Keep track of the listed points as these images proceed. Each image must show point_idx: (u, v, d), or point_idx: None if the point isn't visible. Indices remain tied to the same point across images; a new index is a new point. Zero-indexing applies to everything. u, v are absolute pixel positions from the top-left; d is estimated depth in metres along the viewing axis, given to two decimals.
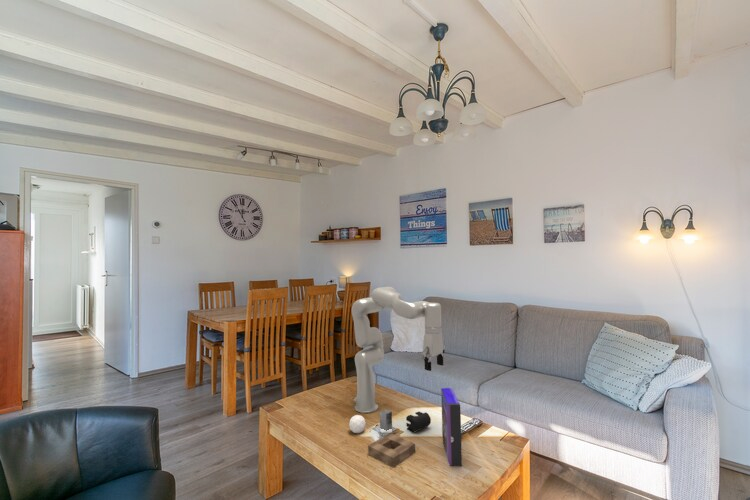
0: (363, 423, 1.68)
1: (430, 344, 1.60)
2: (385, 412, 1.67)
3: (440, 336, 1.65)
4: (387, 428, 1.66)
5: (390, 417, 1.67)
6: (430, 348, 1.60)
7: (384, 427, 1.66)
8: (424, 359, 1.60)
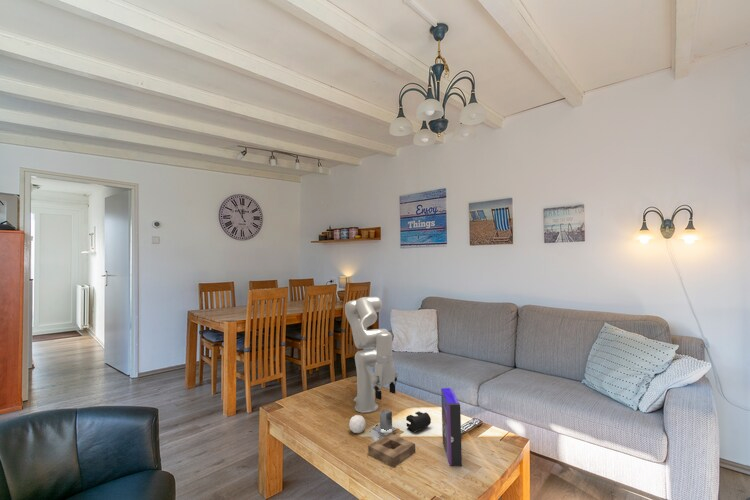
0: (363, 423, 1.68)
1: (380, 373, 1.64)
2: (385, 412, 1.67)
3: (391, 365, 1.68)
4: (387, 428, 1.66)
5: (390, 417, 1.67)
6: (380, 377, 1.63)
7: (384, 427, 1.66)
8: (374, 388, 1.63)
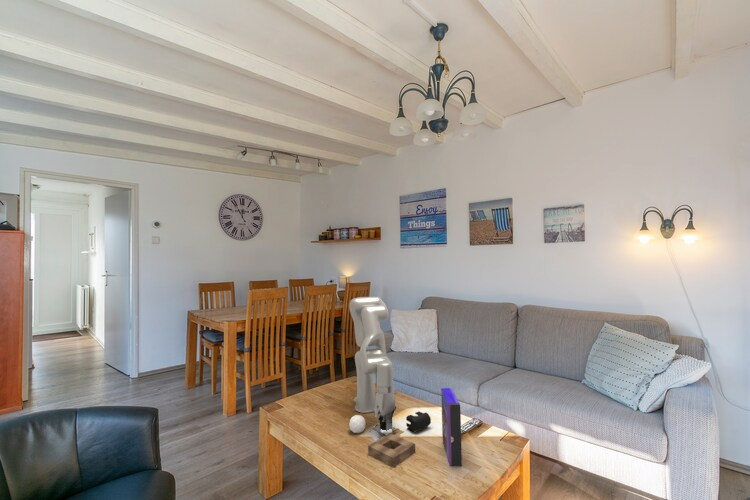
0: (363, 423, 1.68)
1: (381, 403, 1.64)
2: None
3: (392, 394, 1.68)
4: (387, 428, 1.66)
5: (390, 417, 1.67)
6: (381, 407, 1.64)
7: None
8: (378, 419, 1.65)
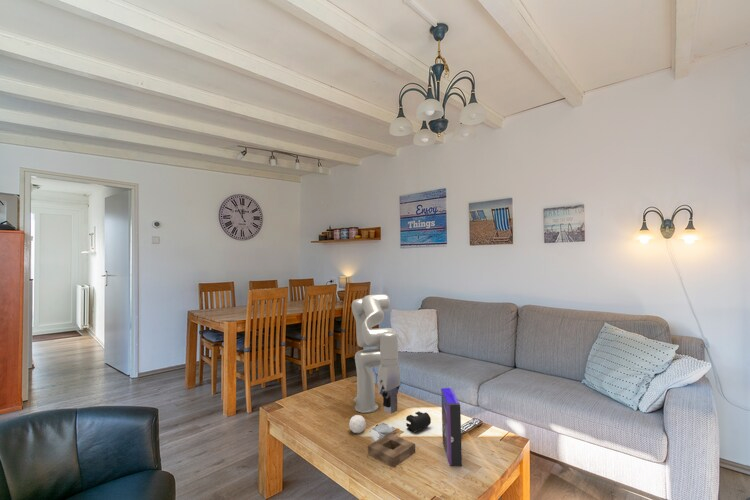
0: (363, 423, 1.68)
1: (385, 377, 1.48)
2: None
3: (397, 368, 1.53)
4: (392, 405, 1.50)
5: (395, 393, 1.52)
6: (384, 382, 1.48)
7: None
8: (382, 395, 1.50)
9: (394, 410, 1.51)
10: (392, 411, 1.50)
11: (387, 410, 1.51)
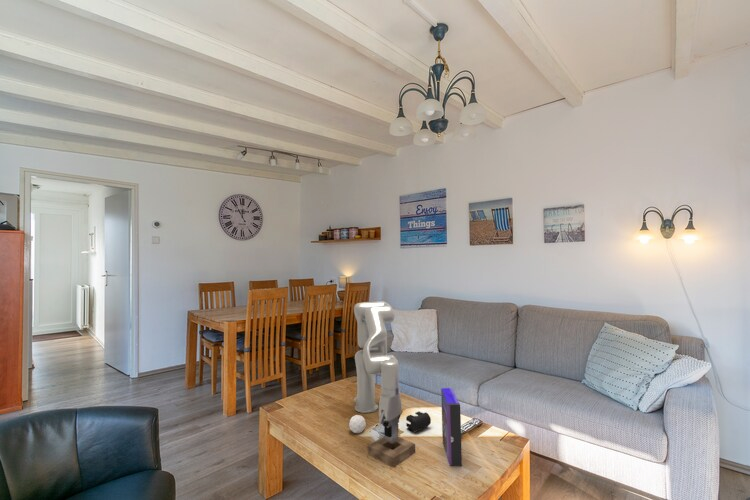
0: (363, 423, 1.68)
1: (386, 407, 1.47)
2: None
3: (398, 397, 1.51)
4: (393, 435, 1.49)
5: (396, 422, 1.50)
6: (385, 412, 1.47)
7: None
8: (383, 425, 1.48)
9: (395, 440, 1.50)
10: (393, 441, 1.49)
11: (388, 440, 1.50)
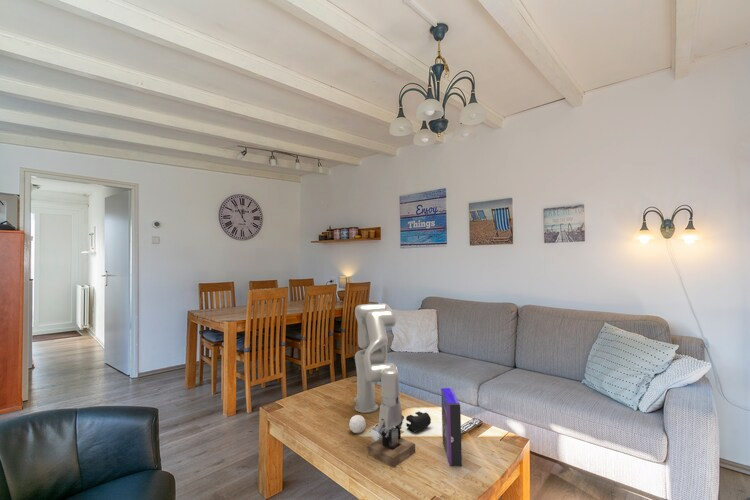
0: (363, 423, 1.68)
1: (386, 416, 1.47)
2: (390, 430, 1.50)
3: (398, 406, 1.51)
4: (393, 448, 1.49)
5: (396, 435, 1.51)
6: (386, 421, 1.47)
7: (390, 447, 1.49)
8: (381, 434, 1.47)
9: None
10: None
11: None
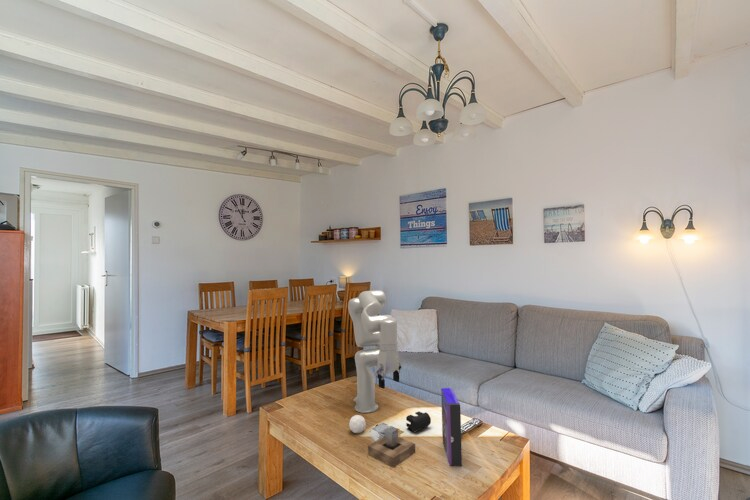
0: (363, 423, 1.68)
1: (384, 361, 1.57)
2: (390, 430, 1.50)
3: (396, 353, 1.61)
4: (393, 448, 1.49)
5: (396, 435, 1.51)
6: (384, 366, 1.57)
7: (390, 447, 1.49)
8: (377, 377, 1.57)
9: None
10: None
11: None
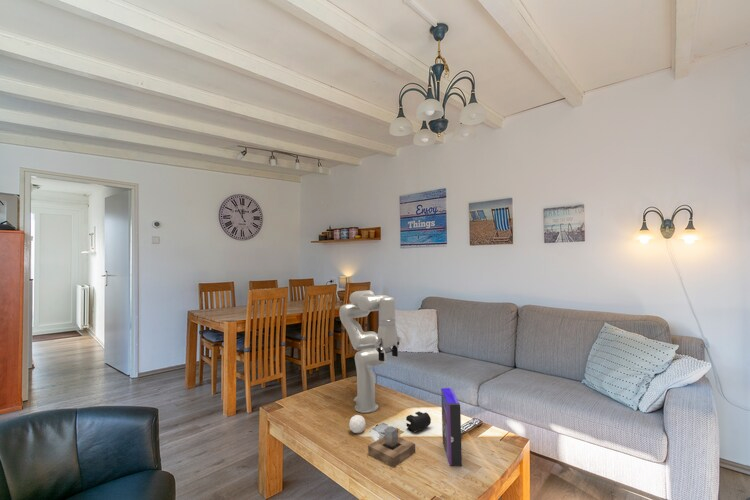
0: (363, 423, 1.68)
1: (383, 335, 1.69)
2: (390, 430, 1.50)
3: (394, 328, 1.73)
4: (393, 448, 1.49)
5: (396, 435, 1.51)
6: (383, 340, 1.69)
7: (390, 447, 1.49)
8: (377, 350, 1.69)
9: None
10: None
11: None
